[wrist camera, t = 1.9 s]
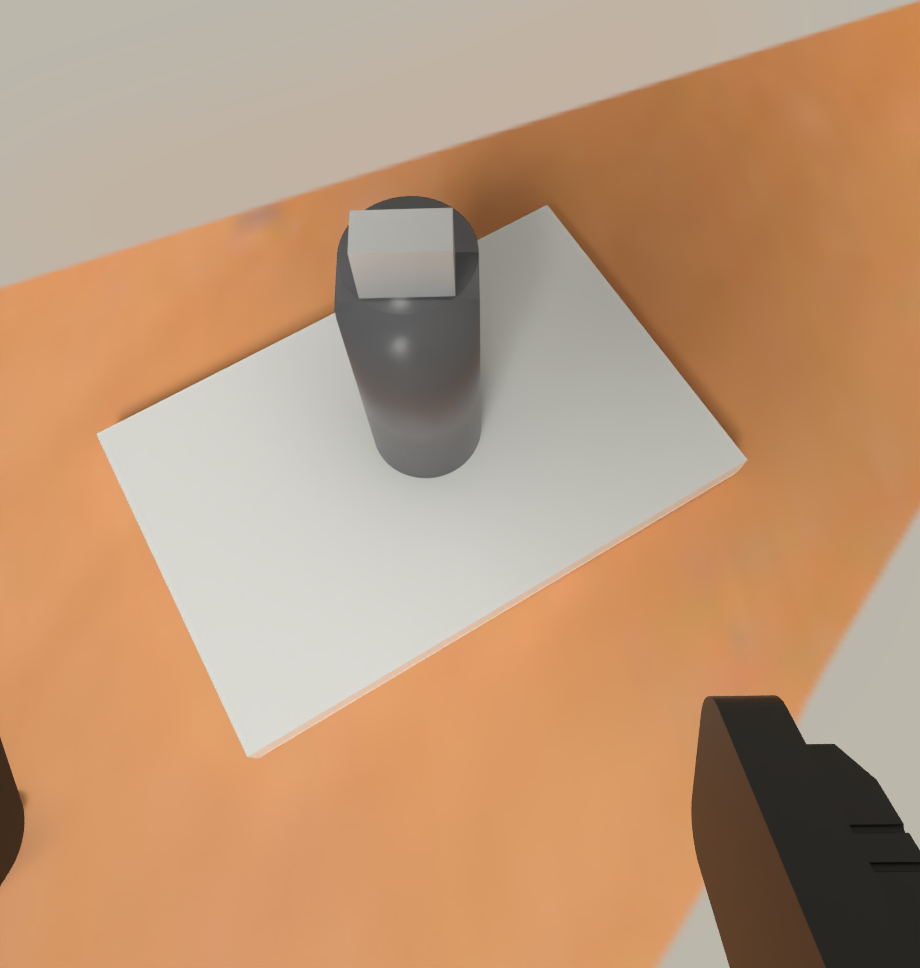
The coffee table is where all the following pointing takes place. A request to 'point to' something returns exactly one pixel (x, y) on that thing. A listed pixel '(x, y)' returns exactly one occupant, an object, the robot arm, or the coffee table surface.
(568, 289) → the dock plate
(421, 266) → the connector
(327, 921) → the coffee table surface
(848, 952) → the robot arm
